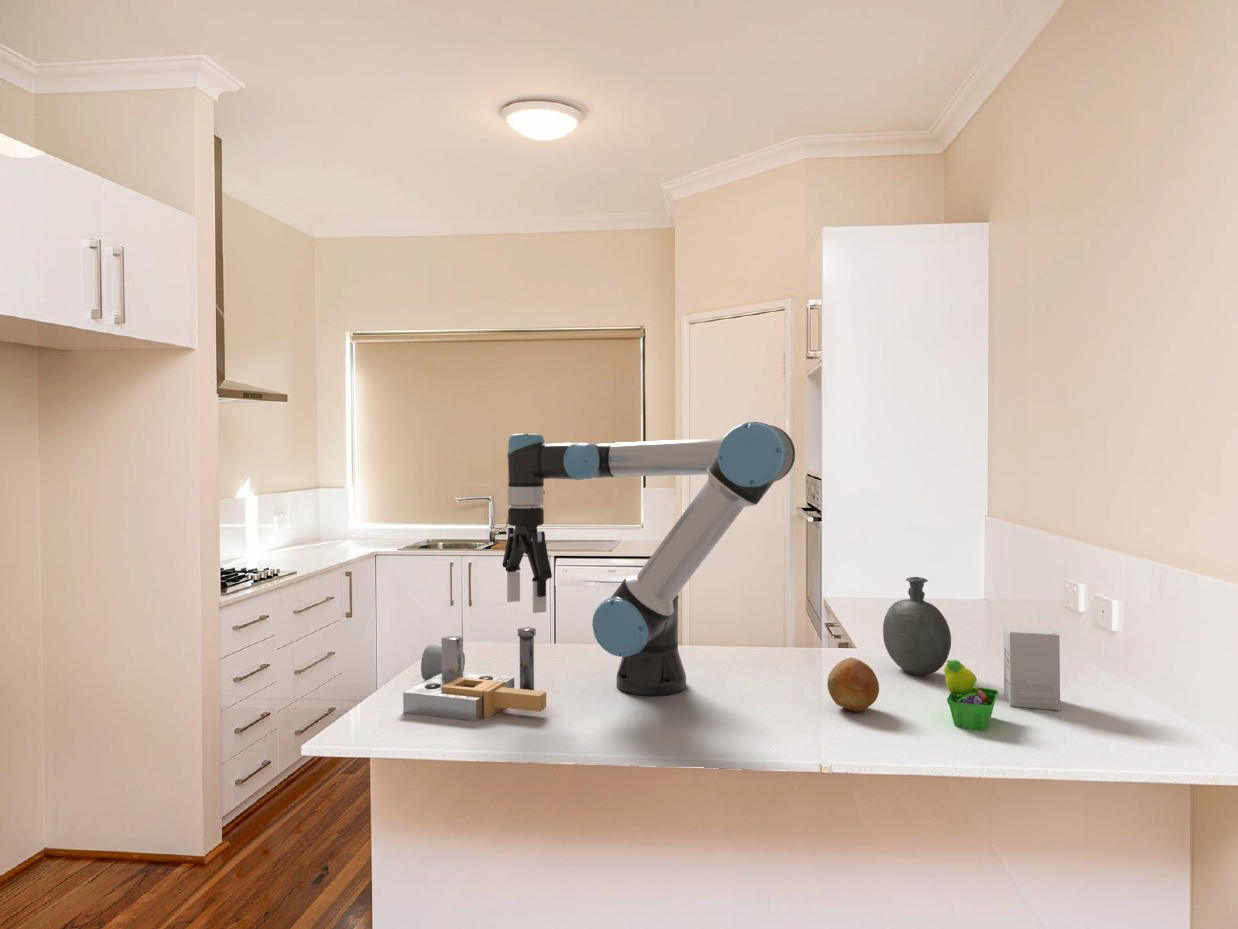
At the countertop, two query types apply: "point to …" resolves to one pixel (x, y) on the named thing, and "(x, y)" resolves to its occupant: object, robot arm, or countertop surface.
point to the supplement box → (1032, 666)
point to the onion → (853, 685)
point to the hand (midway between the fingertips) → (526, 606)
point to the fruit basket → (968, 698)
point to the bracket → (498, 695)
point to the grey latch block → (444, 704)
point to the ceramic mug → (433, 662)
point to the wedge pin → (527, 657)
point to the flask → (916, 632)
